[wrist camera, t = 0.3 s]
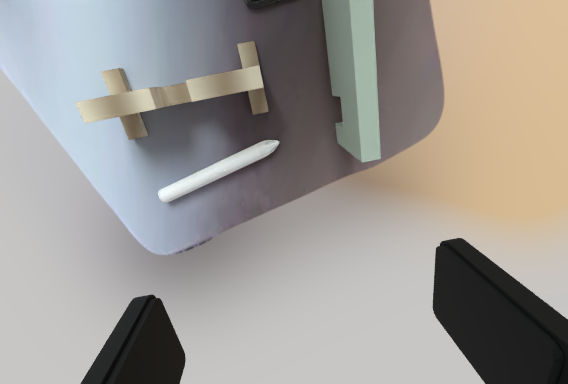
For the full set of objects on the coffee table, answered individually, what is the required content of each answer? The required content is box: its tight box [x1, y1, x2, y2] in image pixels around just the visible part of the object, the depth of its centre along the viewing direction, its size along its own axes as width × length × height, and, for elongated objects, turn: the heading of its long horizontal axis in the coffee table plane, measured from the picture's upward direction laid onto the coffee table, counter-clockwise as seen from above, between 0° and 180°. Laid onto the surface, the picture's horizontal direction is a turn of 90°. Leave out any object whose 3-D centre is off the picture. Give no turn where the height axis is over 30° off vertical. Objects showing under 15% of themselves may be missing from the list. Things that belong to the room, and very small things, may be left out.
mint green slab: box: [322, 0, 381, 162], centre depth 29 cm, size 18×2×10 cm, turn 10°
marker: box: [158, 140, 279, 203], centre depth 37 cm, size 18×2×2 cm, turn 114°
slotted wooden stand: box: [76, 41, 269, 140], centre depth 30 cm, size 18×8×8 cm, turn 100°
